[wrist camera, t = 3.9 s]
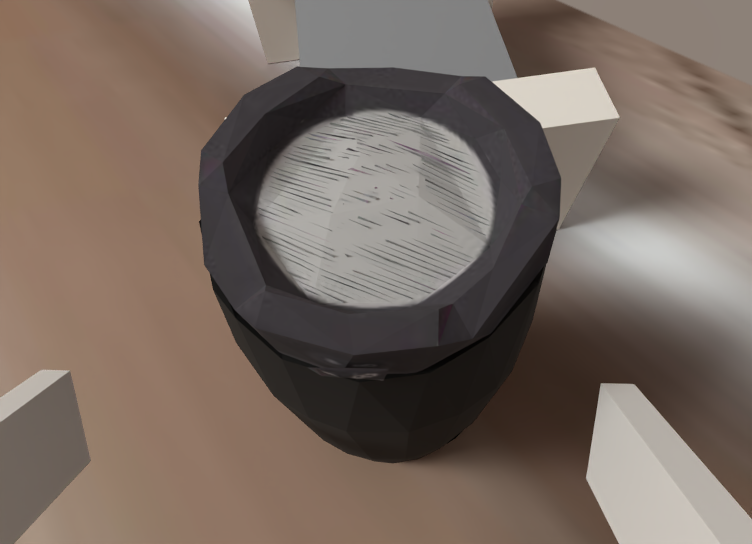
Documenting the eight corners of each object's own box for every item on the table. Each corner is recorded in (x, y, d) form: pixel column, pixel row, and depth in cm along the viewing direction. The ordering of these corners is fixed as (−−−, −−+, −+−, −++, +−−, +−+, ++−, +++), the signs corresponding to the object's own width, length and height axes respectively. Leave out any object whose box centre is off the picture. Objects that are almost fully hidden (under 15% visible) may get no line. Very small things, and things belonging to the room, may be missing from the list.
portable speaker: (294, 353, 28) (123, 99, 11) (437, 301, 30) (485, -5, 12) (338, 501, 25) (183, 467, 7) (500, 434, 26) (702, 268, 8)
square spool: (558, 229, 31) (619, 117, 22) (274, 269, 31) (223, 171, 22) (481, 19, 41) (503, -116, 33) (267, 48, 41) (229, -80, 32)
